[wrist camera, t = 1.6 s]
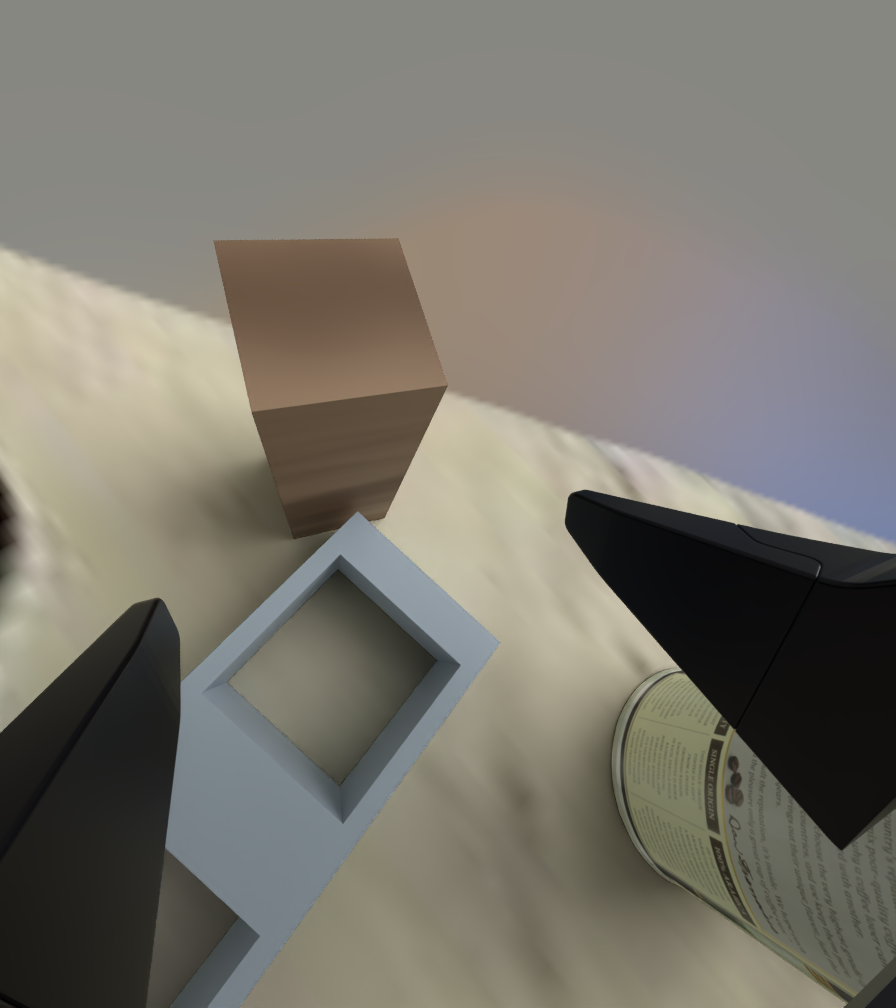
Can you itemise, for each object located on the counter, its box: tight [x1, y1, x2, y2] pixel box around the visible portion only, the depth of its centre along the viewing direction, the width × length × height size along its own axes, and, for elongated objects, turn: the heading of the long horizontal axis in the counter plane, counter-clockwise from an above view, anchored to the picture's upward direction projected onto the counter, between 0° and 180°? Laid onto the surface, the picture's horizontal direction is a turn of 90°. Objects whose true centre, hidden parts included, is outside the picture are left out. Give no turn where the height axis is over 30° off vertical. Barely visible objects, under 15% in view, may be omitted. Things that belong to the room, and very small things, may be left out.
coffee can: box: [612, 668, 896, 1004], centre depth 16 cm, size 10×10×14 cm
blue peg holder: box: [165, 511, 500, 1008], centre depth 15 cm, size 22×8×4 cm, turn 140°
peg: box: [214, 239, 448, 539], centre depth 16 cm, size 4×4×12 cm
